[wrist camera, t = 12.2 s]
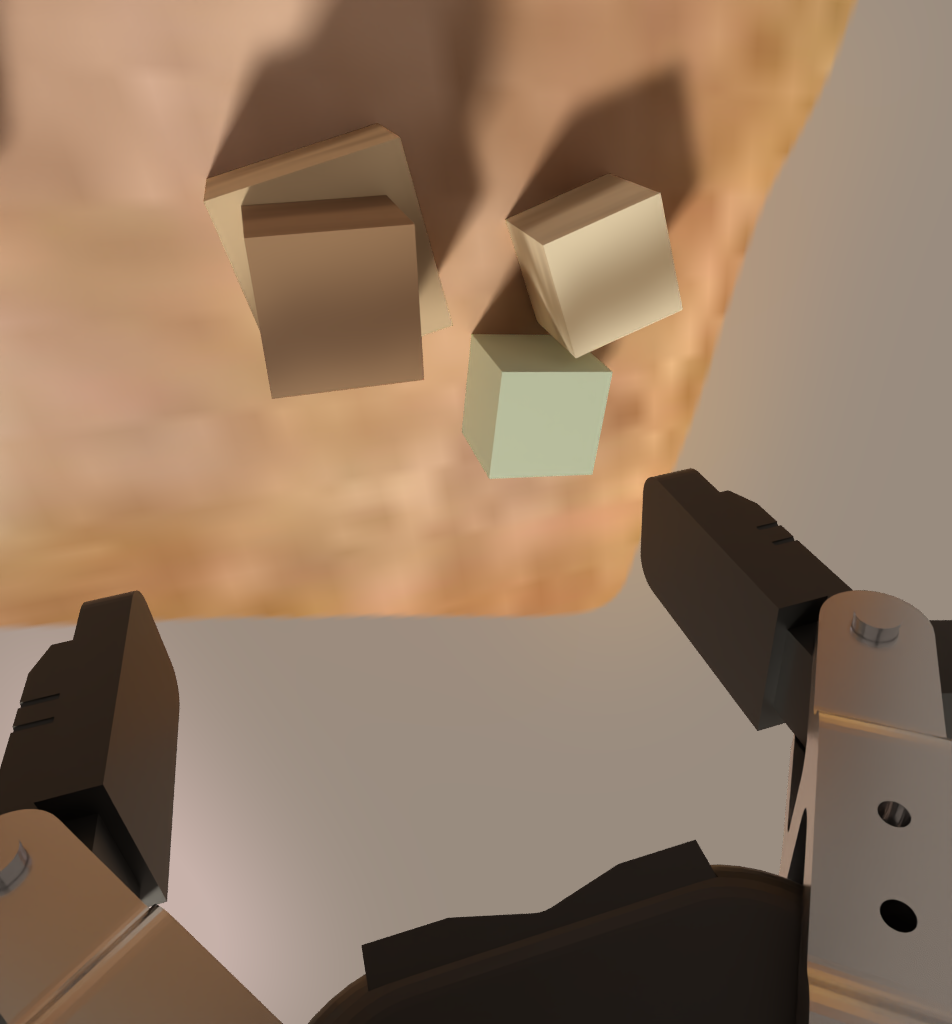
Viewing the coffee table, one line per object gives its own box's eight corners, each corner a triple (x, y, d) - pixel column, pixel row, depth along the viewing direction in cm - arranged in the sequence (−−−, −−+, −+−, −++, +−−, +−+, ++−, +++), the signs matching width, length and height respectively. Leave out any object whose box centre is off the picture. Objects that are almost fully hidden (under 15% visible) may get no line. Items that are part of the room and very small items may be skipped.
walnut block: (240, 205, 26) (243, 237, 22) (386, 194, 28) (414, 224, 23) (265, 346, 29) (272, 398, 25) (397, 332, 30) (424, 379, 26)
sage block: (471, 333, 36) (502, 372, 32) (570, 334, 38) (612, 372, 34) (461, 431, 39) (489, 478, 35) (554, 429, 40) (592, 474, 36)
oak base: (206, 178, 30) (203, 201, 26) (376, 122, 31) (400, 137, 27) (276, 342, 34) (283, 384, 30) (426, 290, 35) (453, 325, 31)
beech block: (504, 219, 34) (542, 245, 30) (608, 173, 34) (660, 192, 30) (536, 321, 37) (575, 358, 33) (632, 278, 37) (682, 309, 33)
